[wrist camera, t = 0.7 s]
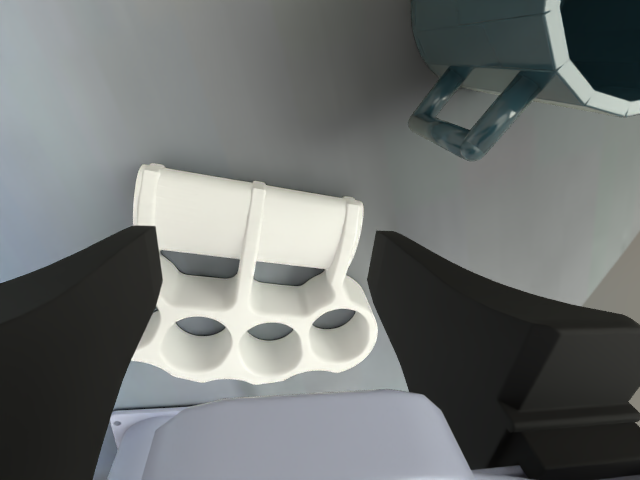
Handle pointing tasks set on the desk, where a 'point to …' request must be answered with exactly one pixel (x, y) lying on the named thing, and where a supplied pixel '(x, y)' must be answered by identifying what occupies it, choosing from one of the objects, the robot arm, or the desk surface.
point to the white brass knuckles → (251, 277)
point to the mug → (524, 62)
